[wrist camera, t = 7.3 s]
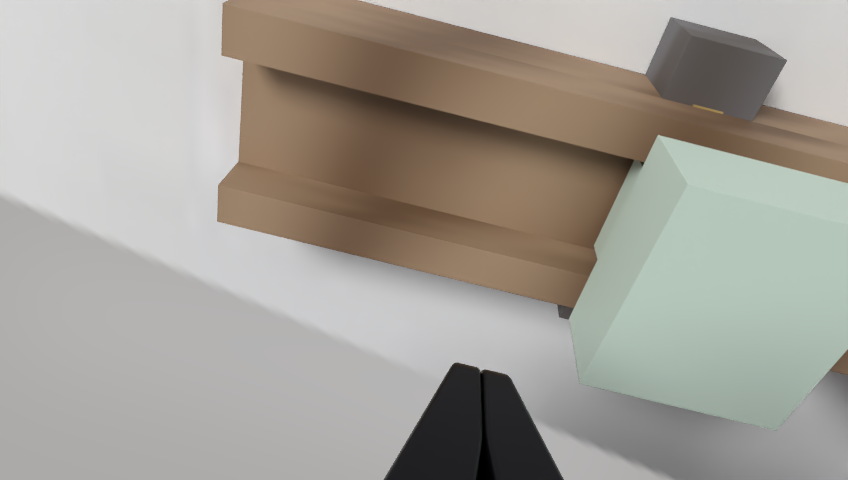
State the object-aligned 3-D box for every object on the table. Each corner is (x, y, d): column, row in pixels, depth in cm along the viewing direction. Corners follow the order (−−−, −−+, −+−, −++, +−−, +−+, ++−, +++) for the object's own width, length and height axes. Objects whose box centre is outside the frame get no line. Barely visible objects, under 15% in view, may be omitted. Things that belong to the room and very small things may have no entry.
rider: (827, 152, 15) (937, 247, 11) (717, 313, 18) (776, 430, 14) (639, 103, 15) (688, 184, 11) (561, 276, 18) (579, 383, 14)
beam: (1127, 136, 16) (1416, 261, 11) (903, 365, 21) (1031, 522, 16) (277, -87, 15) (168, -63, 10) (256, 207, 20) (177, 320, 15)
